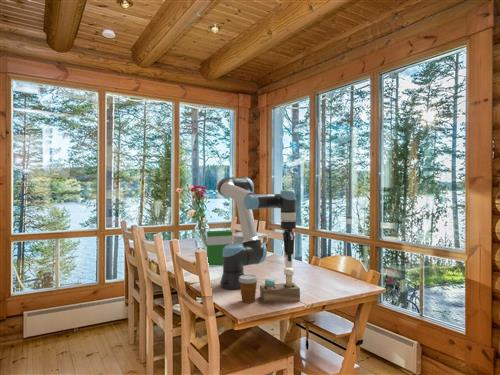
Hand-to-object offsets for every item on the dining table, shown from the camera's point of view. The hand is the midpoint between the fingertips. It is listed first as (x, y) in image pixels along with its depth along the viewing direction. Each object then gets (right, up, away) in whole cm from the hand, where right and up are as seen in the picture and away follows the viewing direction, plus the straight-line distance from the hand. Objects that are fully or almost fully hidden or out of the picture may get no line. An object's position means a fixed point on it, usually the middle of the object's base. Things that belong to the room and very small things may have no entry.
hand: (288, 267), depth 173 cm
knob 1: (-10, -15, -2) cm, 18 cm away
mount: (-5, -16, -1) cm, 16 cm away
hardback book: (-42, -16, +76) cm, 88 cm away
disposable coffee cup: (-20, -16, -4) cm, 26 cm away
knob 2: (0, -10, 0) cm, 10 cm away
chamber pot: (-21, -15, +110) cm, 113 cm away
